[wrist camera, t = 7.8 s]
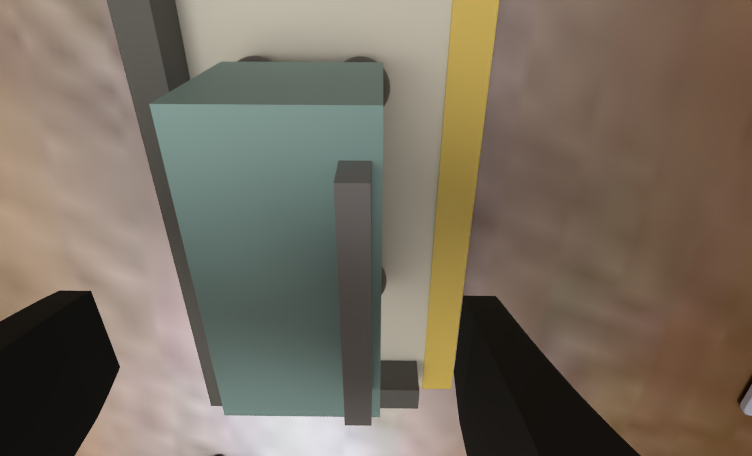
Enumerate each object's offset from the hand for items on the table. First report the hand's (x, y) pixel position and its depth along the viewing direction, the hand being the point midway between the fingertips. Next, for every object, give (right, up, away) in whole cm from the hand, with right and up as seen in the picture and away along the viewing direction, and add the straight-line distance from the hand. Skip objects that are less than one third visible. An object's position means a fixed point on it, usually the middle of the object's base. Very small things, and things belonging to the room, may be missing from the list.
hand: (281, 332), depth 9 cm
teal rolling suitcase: (0, +4, +6) cm, 7 cm away
